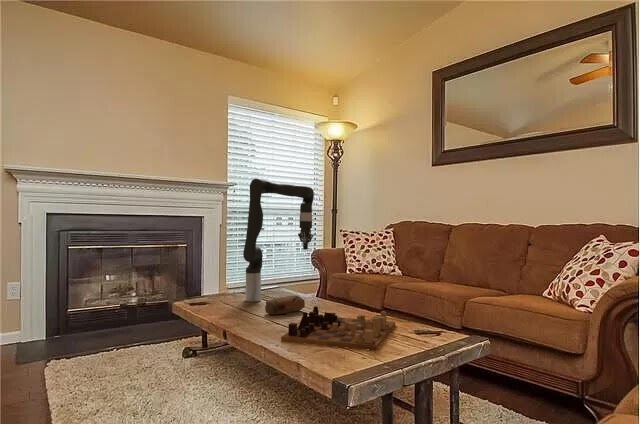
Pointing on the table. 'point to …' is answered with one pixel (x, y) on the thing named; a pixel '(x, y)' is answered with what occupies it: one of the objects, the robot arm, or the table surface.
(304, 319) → the gameboard
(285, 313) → the mat
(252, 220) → the robot arm
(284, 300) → the block
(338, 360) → the table surface
